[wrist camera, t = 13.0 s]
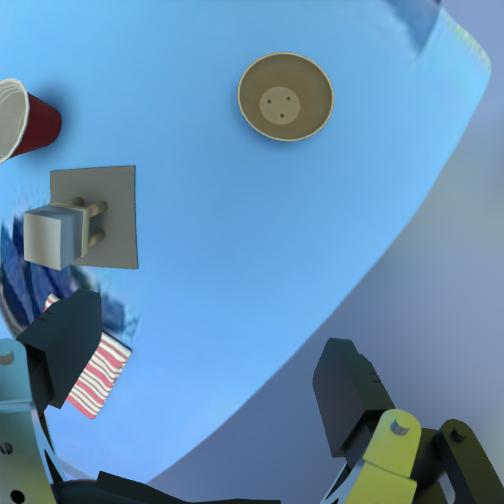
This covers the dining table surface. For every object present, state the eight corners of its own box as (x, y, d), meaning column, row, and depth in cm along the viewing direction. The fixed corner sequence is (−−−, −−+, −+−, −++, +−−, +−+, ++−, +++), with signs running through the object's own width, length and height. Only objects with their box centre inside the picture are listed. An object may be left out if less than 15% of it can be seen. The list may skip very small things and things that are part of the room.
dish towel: (32, 368, 46) (25, 378, 43) (53, 289, 41) (42, 297, 38) (98, 413, 50) (93, 424, 46) (136, 346, 44) (130, 359, 41)
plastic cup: (89, 110, 33) (39, 99, 22) (52, 175, 35) (-1, 184, 24) (47, 79, 31) (-3, 64, 19) (14, 139, 33) (-38, 141, 22)
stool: (109, 201, 37) (61, 219, 25) (105, 241, 38) (61, 271, 27) (75, 195, 36) (23, 211, 25) (73, 233, 38) (24, 260, 26)
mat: (51, 171, 35) (50, 171, 35) (135, 165, 36) (134, 165, 35) (58, 262, 39) (57, 263, 39) (138, 268, 40) (137, 269, 39)
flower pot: (245, 64, 32) (245, 45, 26) (322, 79, 33) (339, 63, 26) (232, 138, 35) (230, 132, 28) (312, 151, 36) (327, 149, 29)
